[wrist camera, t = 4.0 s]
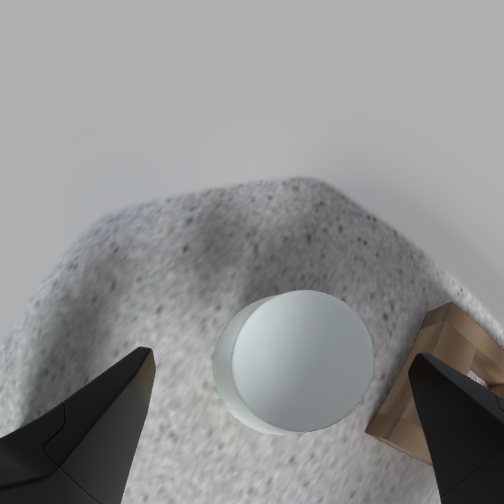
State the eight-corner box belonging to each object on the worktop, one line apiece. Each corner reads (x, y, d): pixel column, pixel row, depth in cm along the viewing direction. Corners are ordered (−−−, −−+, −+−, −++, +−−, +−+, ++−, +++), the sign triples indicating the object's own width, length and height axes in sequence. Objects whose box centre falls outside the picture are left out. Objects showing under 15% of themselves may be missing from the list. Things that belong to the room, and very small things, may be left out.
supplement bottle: (269, 429, 14) (313, 490, 5) (201, 370, 15) (159, 367, 7) (328, 362, 16) (423, 342, 7) (262, 306, 17) (293, 231, 8)
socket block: (511, 385, 15) (536, 381, 12) (469, 480, 11) (494, 486, 8) (426, 312, 17) (454, 300, 14) (364, 432, 14) (390, 440, 11)
